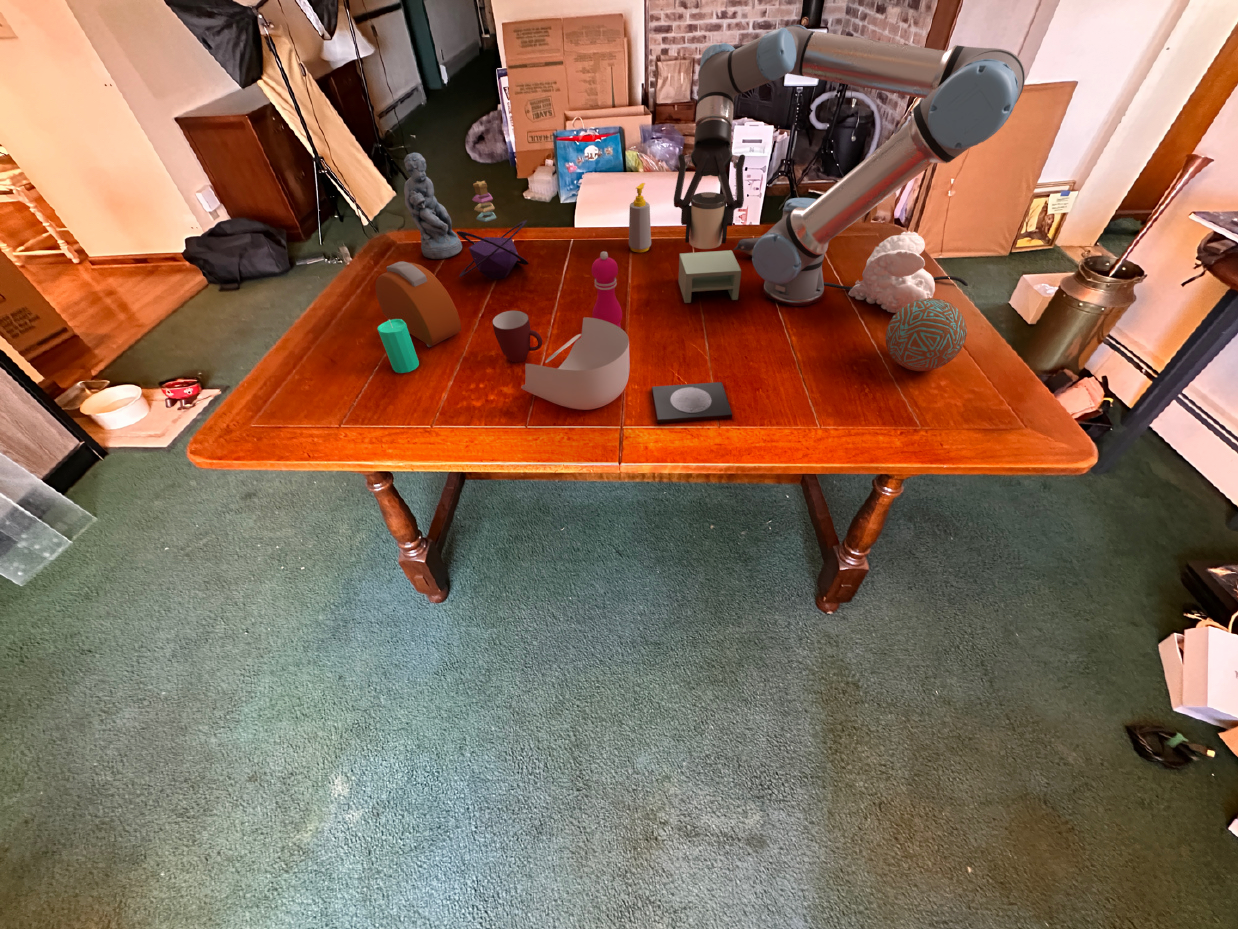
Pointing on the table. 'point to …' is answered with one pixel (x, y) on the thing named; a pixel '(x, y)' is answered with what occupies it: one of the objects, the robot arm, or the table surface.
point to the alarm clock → (417, 302)
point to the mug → (515, 335)
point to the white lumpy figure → (895, 274)
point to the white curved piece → (585, 369)
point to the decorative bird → (746, 245)
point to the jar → (707, 220)
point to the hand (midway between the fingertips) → (705, 240)
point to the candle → (398, 345)
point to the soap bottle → (639, 223)
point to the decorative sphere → (926, 334)
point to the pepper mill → (606, 290)
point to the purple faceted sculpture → (491, 242)
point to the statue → (428, 212)
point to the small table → (709, 273)
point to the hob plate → (691, 403)
